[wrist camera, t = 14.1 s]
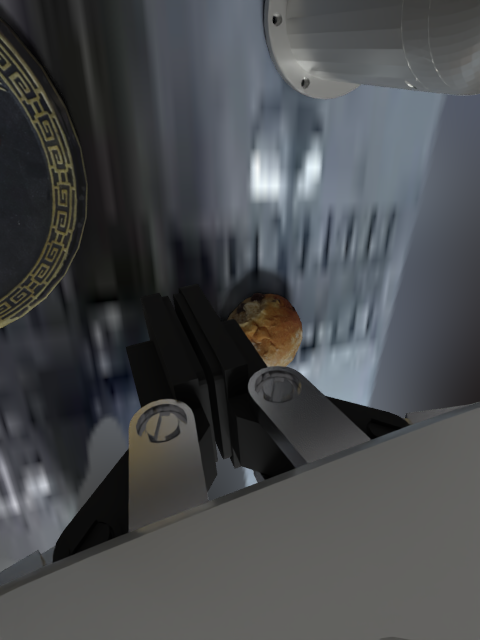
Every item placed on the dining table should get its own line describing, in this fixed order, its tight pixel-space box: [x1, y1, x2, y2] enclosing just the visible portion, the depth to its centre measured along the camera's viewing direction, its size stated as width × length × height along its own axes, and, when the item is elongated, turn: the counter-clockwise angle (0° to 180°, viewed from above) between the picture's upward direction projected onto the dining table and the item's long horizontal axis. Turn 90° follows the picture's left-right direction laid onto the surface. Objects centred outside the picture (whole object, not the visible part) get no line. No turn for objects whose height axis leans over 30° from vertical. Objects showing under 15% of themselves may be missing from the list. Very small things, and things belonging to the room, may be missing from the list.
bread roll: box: [228, 293, 303, 367], centre depth 50 cm, size 10×10×8 cm
